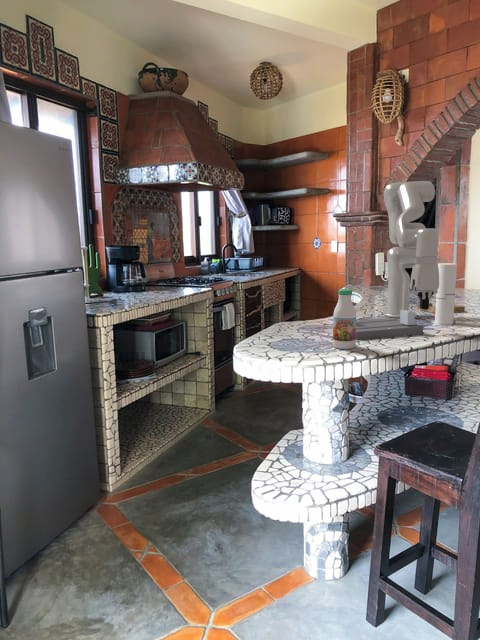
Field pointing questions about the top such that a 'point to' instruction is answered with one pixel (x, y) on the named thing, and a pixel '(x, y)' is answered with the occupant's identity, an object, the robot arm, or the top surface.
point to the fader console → (385, 328)
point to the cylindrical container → (446, 294)
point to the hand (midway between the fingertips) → (424, 309)
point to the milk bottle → (344, 321)
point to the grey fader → (407, 317)
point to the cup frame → (433, 309)
